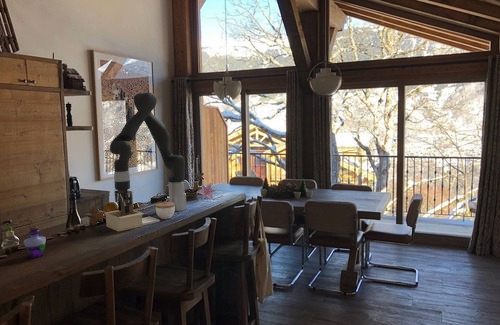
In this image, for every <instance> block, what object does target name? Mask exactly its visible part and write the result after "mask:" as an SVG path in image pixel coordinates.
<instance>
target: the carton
mask: <svg viewBox="0 0 500 325" xmlns="http://www.w3.org/2000/svg"><path fill="white" fill-rule="evenodd" d="M103 214H104V215H105V221H106V228H109V229H112V230H114V231H116V232H123V231H127V230H132V229H136V228H141V227H143V226H144V225H143V224H142V218H143V215H145V213H143V212H141V211H138V210H135V209H133V214H132V215H127V216H122V217H119V216H120V214H121V211H118V209H117V210H111V211H106V212H103Z"/></svg>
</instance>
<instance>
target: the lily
mask: <svg viewBox="0 0 500 325" xmlns="http://www.w3.org/2000/svg"><path fill="white" fill-rule="evenodd" d="M212 186H213V185H212V183H208V184H207V185H203V184H201V189H198V190H197V191H196V194H200V195H202V200H204V199H206V198H209V199H210V200H213V198H214V197H213V193H215V192H217V191H216V189H212Z"/></svg>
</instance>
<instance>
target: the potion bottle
mask: <svg viewBox="0 0 500 325" xmlns="http://www.w3.org/2000/svg"><path fill="white" fill-rule="evenodd" d="M39 234H41V229H40V228H39V226H32V227H29V230H28V235H29V236H30V237H28V238H26V239H23V244H24V247H25V250H26V251H27V254H28V258H29V259H37V258H41V257H43V256H44V251H45V248H46V241H47V237H46V236H39Z"/></svg>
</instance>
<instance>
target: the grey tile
mask: <svg viewBox="0 0 500 325" xmlns="http://www.w3.org/2000/svg"><path fill="white" fill-rule="evenodd" d="M160 222H161V219H160V218H159V219H158V218H155V217H152V216H146V217H142V224H143V226H146V225H152V224H157V223H160Z"/></svg>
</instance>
